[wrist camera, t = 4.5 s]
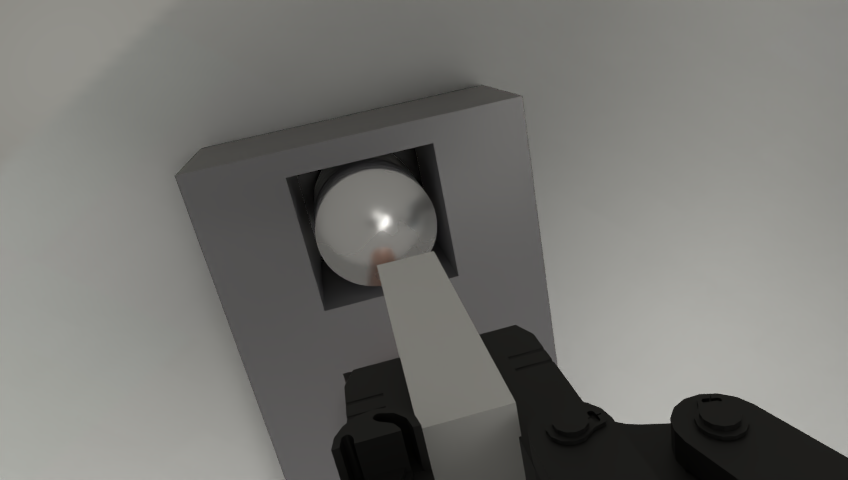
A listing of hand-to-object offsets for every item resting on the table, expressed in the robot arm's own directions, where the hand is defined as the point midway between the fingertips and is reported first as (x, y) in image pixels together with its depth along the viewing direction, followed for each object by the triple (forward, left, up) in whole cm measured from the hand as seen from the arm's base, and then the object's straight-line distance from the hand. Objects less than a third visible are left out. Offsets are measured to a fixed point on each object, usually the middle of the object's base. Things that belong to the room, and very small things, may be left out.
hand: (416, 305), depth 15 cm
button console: (0, +8, -11) cm, 14 cm away
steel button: (0, 0, -11) cm, 11 cm away
